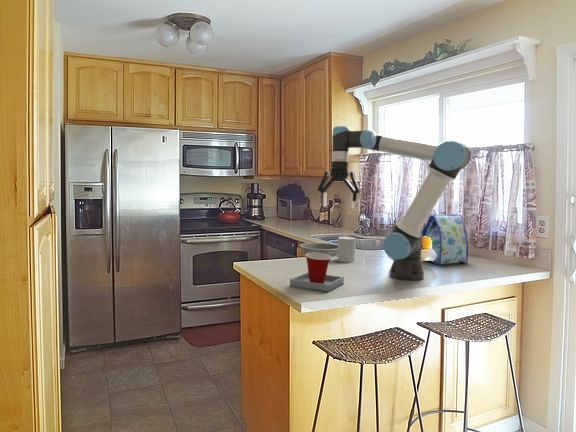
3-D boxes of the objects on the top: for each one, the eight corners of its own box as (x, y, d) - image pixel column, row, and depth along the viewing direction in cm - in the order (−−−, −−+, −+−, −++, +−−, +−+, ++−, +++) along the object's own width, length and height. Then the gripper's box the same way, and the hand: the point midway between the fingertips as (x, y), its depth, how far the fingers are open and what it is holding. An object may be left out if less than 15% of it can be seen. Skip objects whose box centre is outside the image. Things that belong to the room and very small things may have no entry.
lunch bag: (444, 258, 256) (447, 212, 254) (469, 263, 242) (472, 215, 240) (417, 260, 245) (419, 213, 243) (441, 266, 231) (444, 216, 228)
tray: (343, 284, 188) (343, 277, 187) (327, 292, 173) (327, 285, 173) (308, 278, 195) (308, 272, 195) (289, 286, 181) (290, 279, 181)
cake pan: (350, 254, 261) (350, 246, 261) (322, 259, 244) (322, 250, 243) (318, 248, 278) (319, 241, 278) (290, 252, 261) (290, 244, 261)
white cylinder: (342, 258, 246) (343, 236, 245) (358, 260, 241) (359, 238, 240) (333, 260, 239) (334, 237, 237) (349, 263, 233) (350, 239, 232)
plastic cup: (321, 288, 177) (322, 258, 176) (299, 283, 183) (299, 254, 182) (335, 283, 185) (336, 254, 184) (313, 279, 192) (314, 251, 191)
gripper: (368, 161, 201) (366, 208, 203) (318, 161, 213) (316, 205, 215) (363, 160, 195) (361, 209, 197) (311, 160, 206) (310, 206, 208)
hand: (338, 207), depth 206 cm, fingers open, 13 cm apart
